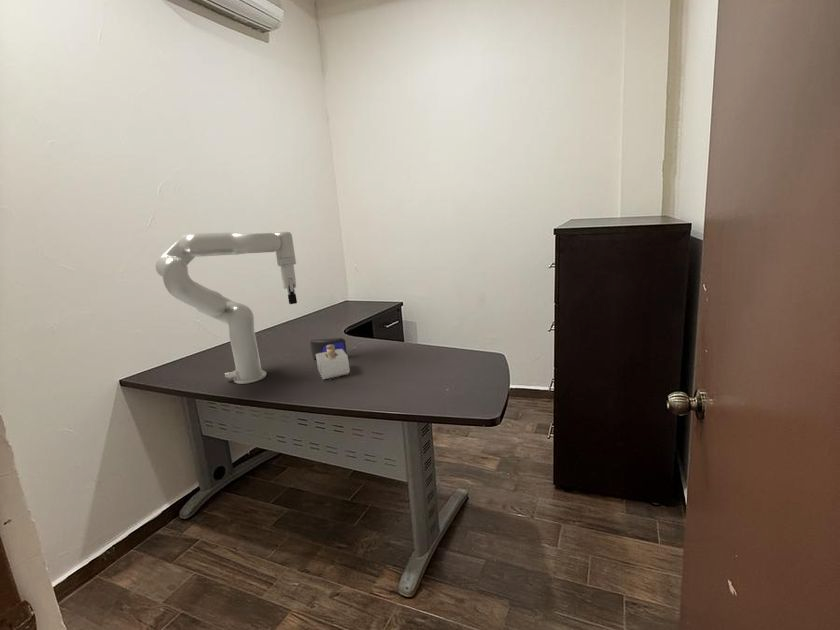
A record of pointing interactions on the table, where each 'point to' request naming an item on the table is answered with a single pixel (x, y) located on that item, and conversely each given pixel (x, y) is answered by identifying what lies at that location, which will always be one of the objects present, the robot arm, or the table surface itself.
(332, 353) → the dowel
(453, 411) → the table surface
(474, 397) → the table surface
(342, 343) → the leaning round-cornered charcoal block
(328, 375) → the bore block
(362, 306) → the table surface
